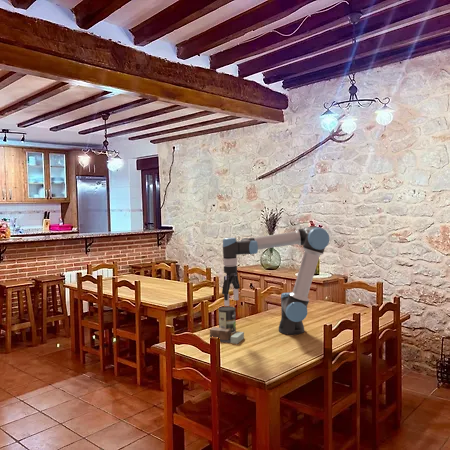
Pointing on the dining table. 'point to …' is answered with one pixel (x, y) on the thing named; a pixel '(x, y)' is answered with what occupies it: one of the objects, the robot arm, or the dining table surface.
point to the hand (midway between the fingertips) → (231, 302)
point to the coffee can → (227, 318)
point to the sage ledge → (237, 337)
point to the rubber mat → (226, 340)
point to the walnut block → (220, 333)
